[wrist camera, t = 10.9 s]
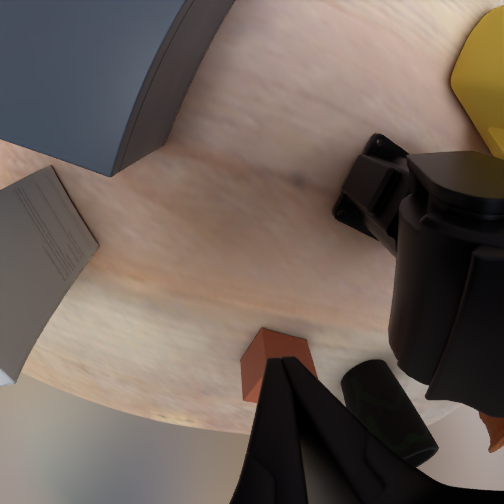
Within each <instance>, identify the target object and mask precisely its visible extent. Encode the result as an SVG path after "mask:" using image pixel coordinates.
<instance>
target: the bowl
mask: <svg viewBox="0 0 504 504" xmlns="http://www.w3.org/2000/svg"><path fill="white" fill-rule="evenodd" d="M479 415H480V418H481V419H482V421H483V422H484V424H485V425H486V427H487V430H488V433H489V436H490V447H489V449H488V450H489V452H490V453H492V452H494V451H496V450H498V449H499V448H501V447H502V446H504V418H494V417H489V416H487V415H485V414H483V413H482V412H480V411H479Z"/></svg>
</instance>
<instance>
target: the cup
mask: <svg viewBox="0 0 504 504" xmlns="http://www.w3.org/2000/svg"><path fill="white" fill-rule="evenodd" d="M341 386H342V391H343V395H344V400H345V404H346V408H347V409H348V410H349V411H350V412H351V413H352V414H353V415H354V416H355V417H356V418H358V419H359V420H360V421H361V422H362V423H363V424H364V425H365V426H366V427H367V428H368V429H369V430H370V432H372V433H373V434H374V435H375V436H376V437H378V438H379V439H380V440H381V441H382V442H383V443H384V444H385V445H386V446H388V447H389V448H390V449H391V450H392V451H394V452H395V453H396V454H398V455H399V456H400V457H402V458H403V459H404V460H406V461H407V462H409V463H410V464H411V465H413V466H414V467H418V466H419V465H421V464H423V463H424V462H426V461H427V460H428V459H430V458H431V457H432V456H433V455H434V454H435V453H436V452H437V451H438V449H439V447H438V445H437V443H436V442H435V440H434V438H433V437H432V435H431V433H430V432H429V430H428V428H427V427H426V425H425V423H424V422H423V420H422V418H421V417H420V415H419V414H418V412H417V410H416V409H415V407H414V406H413V404H412V402H411V401H410V399H409V398H408V396H407V394H406V393H405V391H404V390H403V388H402V387H401V385H400V384H399V382H398V380H397V379H396V377H395V376H394V374H393V373H392V371H391V370H390V368H389V367H388V365H387V364H386V362H384V361H383V360H370V361H366V362H363V363H361V364H359V365H357V366H355V367H354V368H352V369H351V370H350V371H349V372H347V373H346V375H345V376H344V377H343V379H342V381H341Z"/></svg>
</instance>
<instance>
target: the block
mask: <svg viewBox="0 0 504 504" xmlns="http://www.w3.org/2000/svg"><path fill="white" fill-rule="evenodd" d="M283 356H295V357H297V358H298V359H299V360H300V361H301V362H302V363H303V365H304V366H305V367H306V368H307V369H308V370H309V371H310V372H311V373H312V374H313V375H314V376H315V377H316V378H317V379H318V377H317V373H316V370H315V367H314V363H313V360H312V356H311V353H310V350H309V346H308V343H307V340H305V339H301V338H297V337H293V336H289V335H286V334H282V333H278V332H275V331H271V330H267V329H264V328H261V330H260V331H259V333H258V334H257V336H256V338H255V339H254V341H253V342H252V344H251V345H250V347H249V348H248V350H247V351H246V353H245V354H244V356H243V358H242V359H241V377H242V393H243V401H248V402H253V403H258V398H259V394H260V389H261V384H262V380H263V375H264V370H265V365H266V360H267V358H270V357H280V358H281V357H283Z"/></svg>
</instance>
